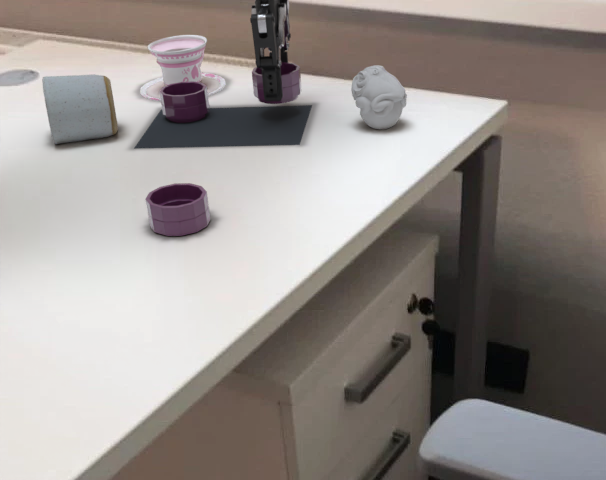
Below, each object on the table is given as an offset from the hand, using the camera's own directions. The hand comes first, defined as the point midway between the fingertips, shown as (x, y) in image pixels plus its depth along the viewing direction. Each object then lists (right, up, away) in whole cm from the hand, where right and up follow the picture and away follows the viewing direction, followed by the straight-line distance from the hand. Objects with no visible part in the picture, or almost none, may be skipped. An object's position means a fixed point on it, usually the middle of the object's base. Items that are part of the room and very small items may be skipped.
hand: (277, 91), depth 110 cm
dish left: (-12, -2, +3) cm, 12 cm away
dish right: (0, -1, +1) cm, 1 cm away
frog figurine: (+12, -6, -3) cm, 14 cm away
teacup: (-13, +5, +13) cm, 20 cm away
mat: (-6, -5, 0) cm, 8 cm away
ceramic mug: (-24, -5, +1) cm, 25 cm away
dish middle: (-9, -23, -22) cm, 33 cm away
